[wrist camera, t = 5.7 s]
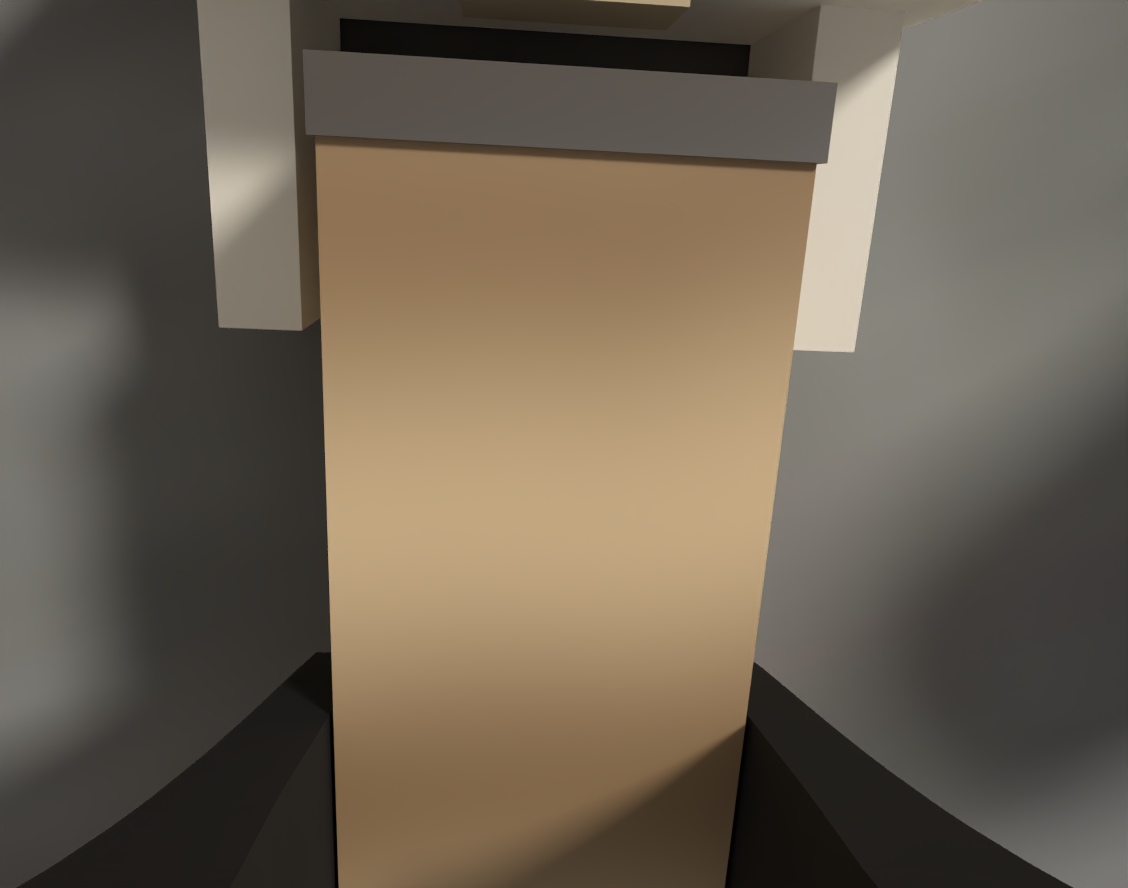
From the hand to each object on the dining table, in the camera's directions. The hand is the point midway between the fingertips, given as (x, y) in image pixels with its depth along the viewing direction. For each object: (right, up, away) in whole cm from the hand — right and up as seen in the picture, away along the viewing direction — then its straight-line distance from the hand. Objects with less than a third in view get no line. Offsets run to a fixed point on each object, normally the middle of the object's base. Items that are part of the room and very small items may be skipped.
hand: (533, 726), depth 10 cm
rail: (0, +1, +3) cm, 3 cm away
